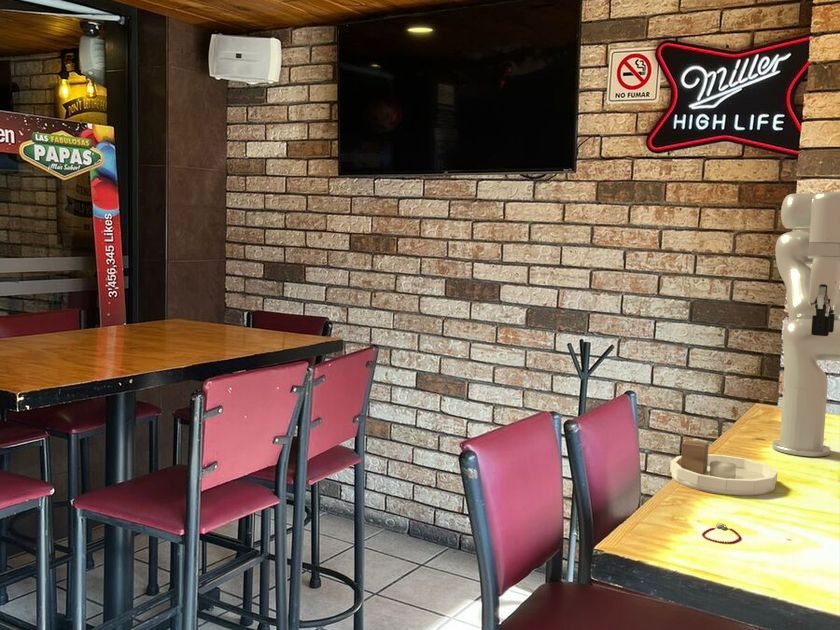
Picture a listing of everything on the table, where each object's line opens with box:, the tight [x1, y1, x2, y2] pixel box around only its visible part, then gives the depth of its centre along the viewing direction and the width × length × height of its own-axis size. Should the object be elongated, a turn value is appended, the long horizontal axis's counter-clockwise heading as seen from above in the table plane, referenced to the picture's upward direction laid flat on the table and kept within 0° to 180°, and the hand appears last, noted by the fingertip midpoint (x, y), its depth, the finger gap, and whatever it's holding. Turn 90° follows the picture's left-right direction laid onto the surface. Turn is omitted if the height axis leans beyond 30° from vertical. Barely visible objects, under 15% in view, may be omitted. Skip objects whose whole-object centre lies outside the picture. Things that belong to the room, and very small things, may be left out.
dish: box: [669, 453, 779, 497], centre depth 172 cm, size 20×20×4 cm
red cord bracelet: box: [701, 522, 742, 545], centre depth 140 cm, size 9×6×1 cm
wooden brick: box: [681, 439, 710, 475], centre depth 175 cm, size 4×4×6 cm
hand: (822, 333), depth 176 cm, fingers open, 9 cm apart
